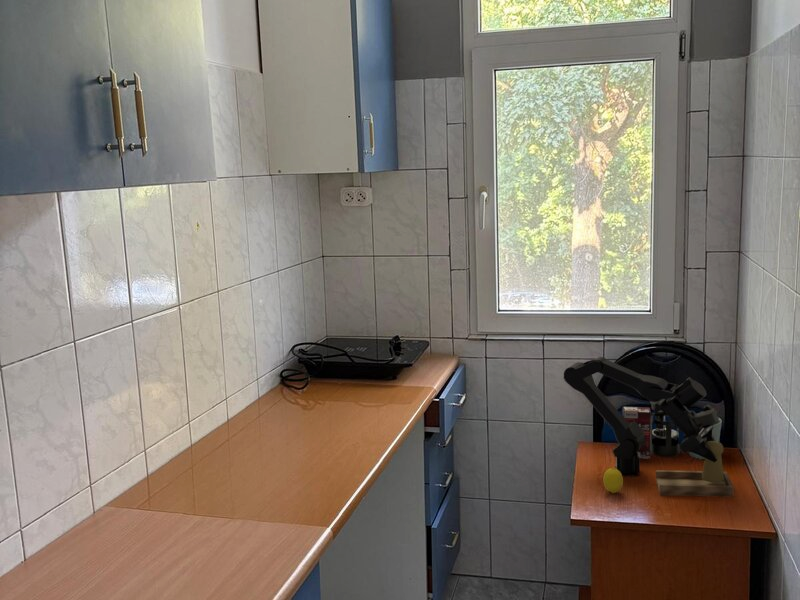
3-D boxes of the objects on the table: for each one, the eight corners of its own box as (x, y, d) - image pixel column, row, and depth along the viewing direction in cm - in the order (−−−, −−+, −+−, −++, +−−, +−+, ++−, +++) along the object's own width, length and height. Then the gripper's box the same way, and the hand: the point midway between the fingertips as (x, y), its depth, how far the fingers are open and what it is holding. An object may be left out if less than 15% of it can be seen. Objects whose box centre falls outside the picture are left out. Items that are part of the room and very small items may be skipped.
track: (659, 494, 229) (659, 485, 228) (655, 479, 239) (655, 470, 238) (733, 497, 225) (733, 487, 224) (726, 481, 235) (726, 471, 234)
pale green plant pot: (684, 448, 260) (684, 413, 258) (716, 448, 259) (717, 413, 256) (691, 461, 250) (691, 425, 248) (724, 460, 249) (725, 424, 246)
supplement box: (622, 458, 256) (622, 411, 252) (622, 452, 260) (622, 406, 257) (651, 459, 254) (651, 411, 250) (649, 453, 258) (650, 406, 255)
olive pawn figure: (728, 481, 228) (729, 445, 225) (707, 483, 227) (709, 447, 225) (717, 472, 234) (718, 437, 231) (697, 474, 233) (698, 439, 231)
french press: (684, 457, 253) (685, 388, 249) (654, 458, 254) (654, 389, 249) (672, 443, 265) (673, 377, 260) (644, 444, 265) (644, 378, 261)
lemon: (623, 490, 234) (623, 464, 232) (622, 498, 228) (622, 472, 227) (604, 488, 235) (603, 463, 234) (602, 496, 230) (602, 470, 229)
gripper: (692, 410, 220) (732, 454, 216) (708, 390, 235) (747, 431, 231) (662, 431, 226) (701, 475, 222) (681, 411, 241) (718, 452, 237)
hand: (718, 457), depth 228 cm, fingers closed on olive pawn figure, 5 cm apart
